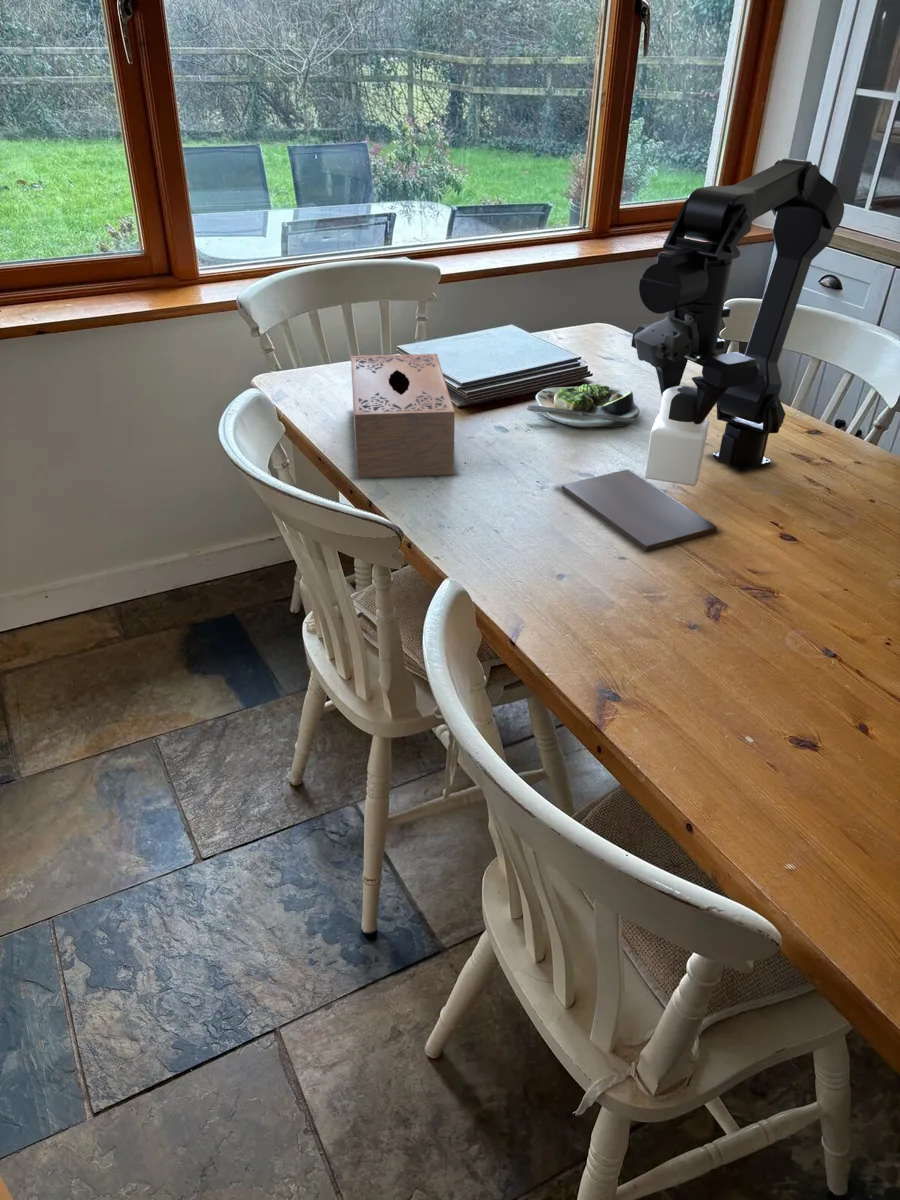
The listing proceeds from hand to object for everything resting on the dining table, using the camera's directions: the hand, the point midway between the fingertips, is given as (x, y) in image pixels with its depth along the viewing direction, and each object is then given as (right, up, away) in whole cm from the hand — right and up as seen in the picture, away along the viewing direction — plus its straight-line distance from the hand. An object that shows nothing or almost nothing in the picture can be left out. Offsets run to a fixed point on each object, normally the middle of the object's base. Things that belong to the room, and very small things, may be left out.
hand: (682, 415), depth 123 cm
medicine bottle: (0, -7, +5) cm, 9 cm away
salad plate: (-7, +8, +35) cm, 37 cm away
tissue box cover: (-40, 0, +24) cm, 46 cm away
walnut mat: (-5, -12, +5) cm, 14 cm away
